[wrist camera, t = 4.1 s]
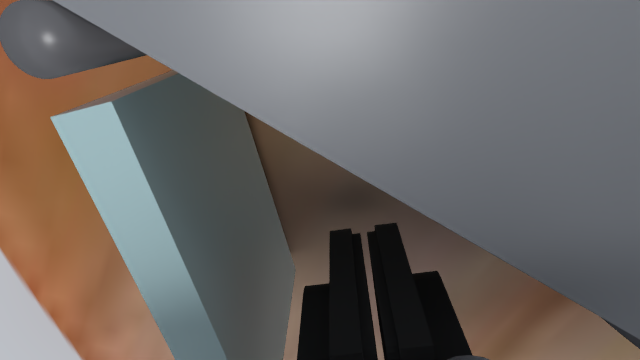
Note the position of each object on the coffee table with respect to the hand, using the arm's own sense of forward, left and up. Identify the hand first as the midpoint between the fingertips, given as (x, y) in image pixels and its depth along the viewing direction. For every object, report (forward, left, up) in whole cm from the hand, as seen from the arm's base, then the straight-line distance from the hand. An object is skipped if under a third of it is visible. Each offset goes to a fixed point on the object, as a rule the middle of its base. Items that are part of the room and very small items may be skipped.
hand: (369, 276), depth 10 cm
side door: (+4, +1, -4) cm, 6 cm away
